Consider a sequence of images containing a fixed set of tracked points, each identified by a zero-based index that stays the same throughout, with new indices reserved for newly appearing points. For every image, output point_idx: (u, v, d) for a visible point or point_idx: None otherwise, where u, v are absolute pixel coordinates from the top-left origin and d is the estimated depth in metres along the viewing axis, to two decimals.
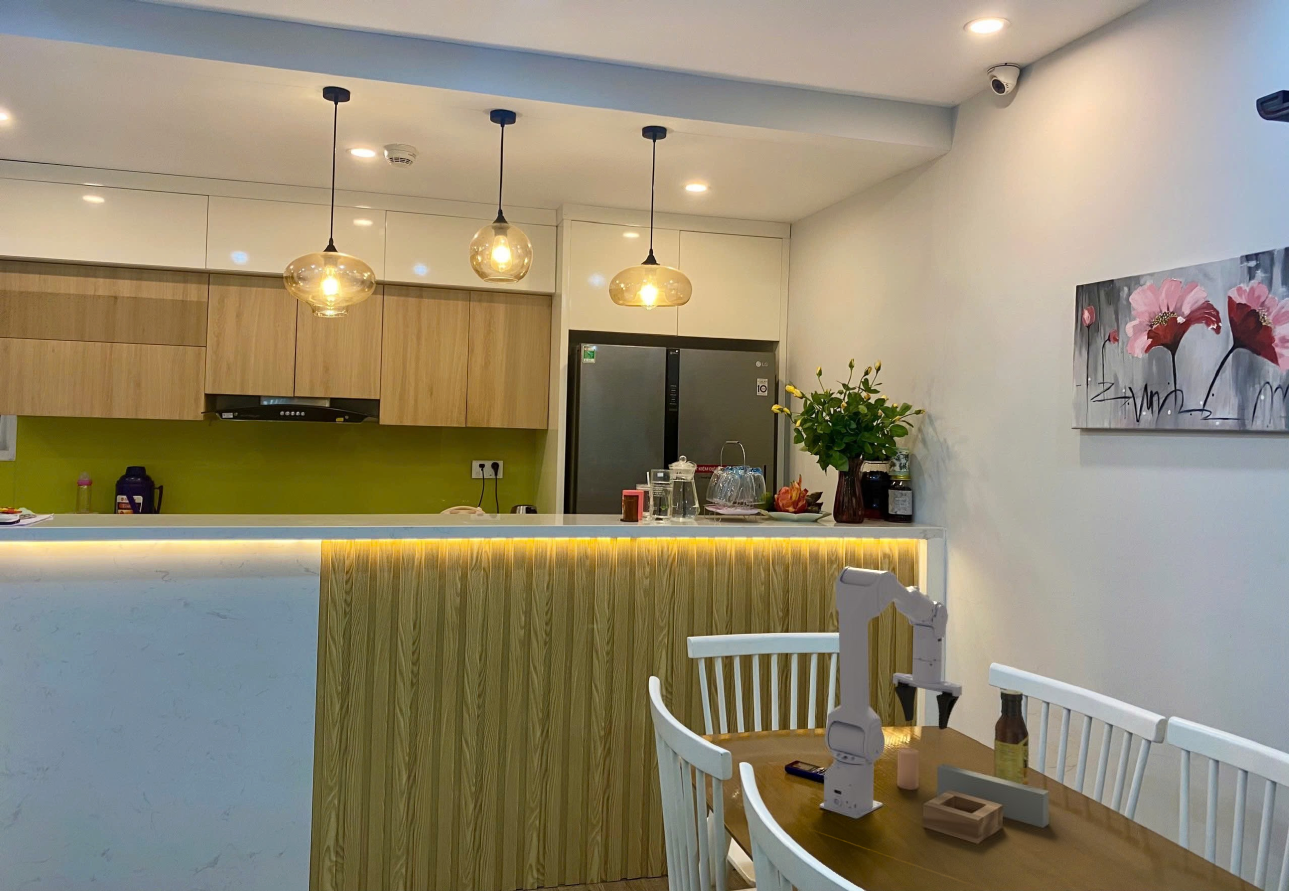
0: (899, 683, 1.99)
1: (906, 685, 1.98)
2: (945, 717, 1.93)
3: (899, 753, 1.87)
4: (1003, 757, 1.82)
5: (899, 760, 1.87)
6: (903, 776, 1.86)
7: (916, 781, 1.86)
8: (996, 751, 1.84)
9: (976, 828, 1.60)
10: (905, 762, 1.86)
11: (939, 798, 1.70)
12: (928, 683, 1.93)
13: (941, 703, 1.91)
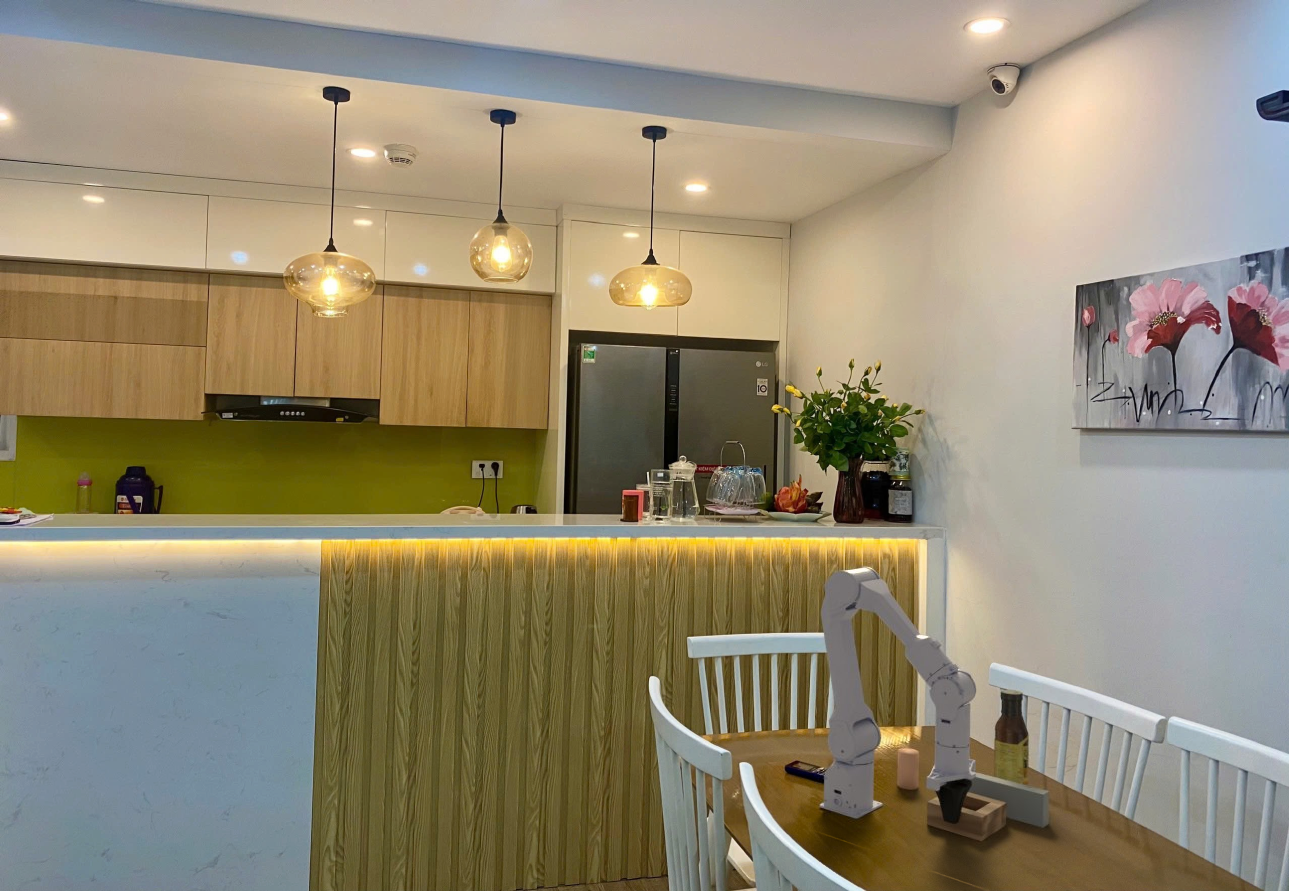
0: None
1: None
2: (948, 809, 1.63)
3: (899, 753, 1.87)
4: (1003, 757, 1.82)
5: (899, 760, 1.87)
6: (903, 776, 1.86)
7: (916, 781, 1.86)
8: (996, 751, 1.84)
9: (980, 825, 1.61)
10: (905, 762, 1.86)
11: None
12: (933, 767, 1.64)
13: None
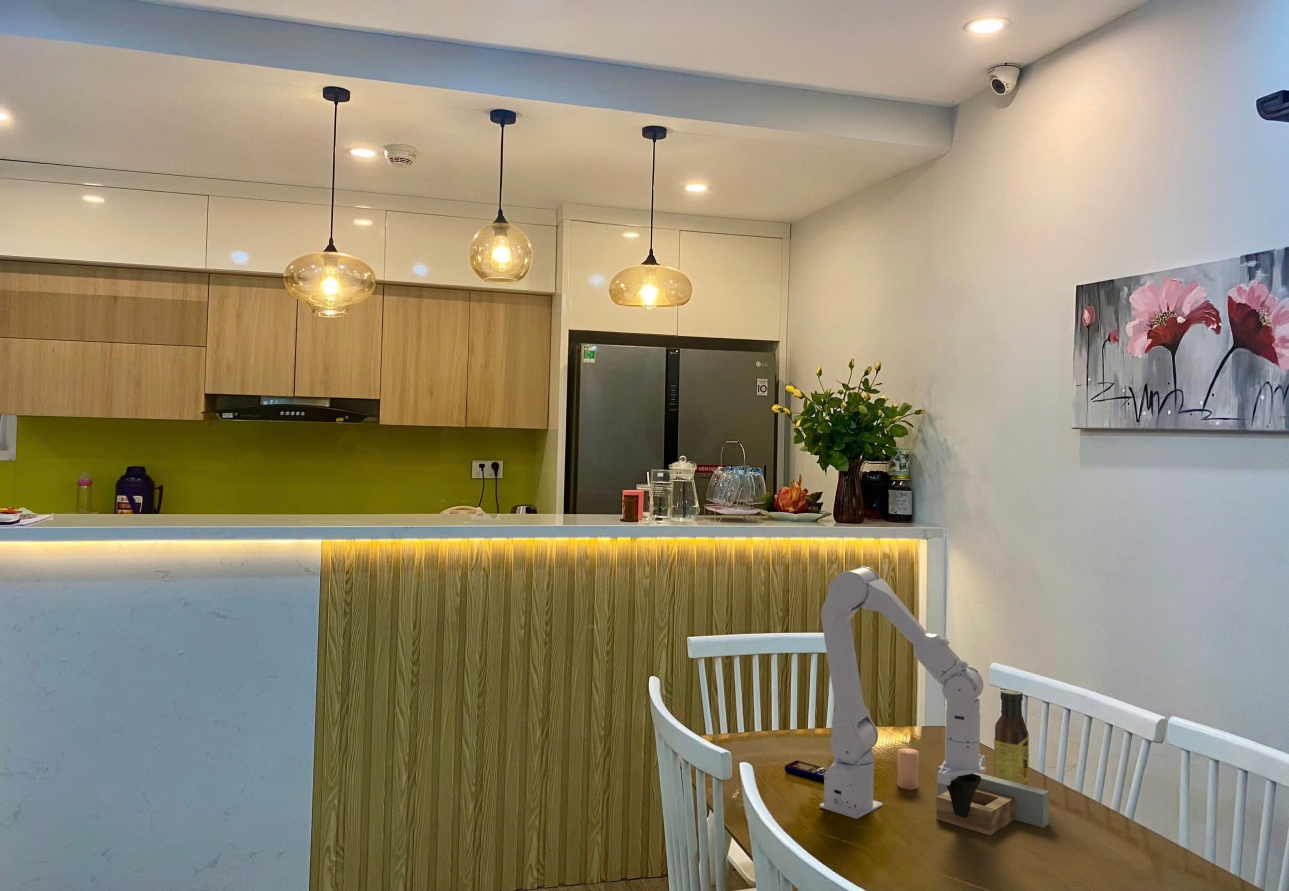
0: None
1: None
2: (959, 803, 1.66)
3: (899, 753, 1.87)
4: (1003, 757, 1.82)
5: (899, 760, 1.87)
6: (903, 776, 1.86)
7: (916, 781, 1.86)
8: (996, 751, 1.84)
9: (989, 820, 1.64)
10: (905, 762, 1.86)
11: None
12: (944, 762, 1.67)
13: None
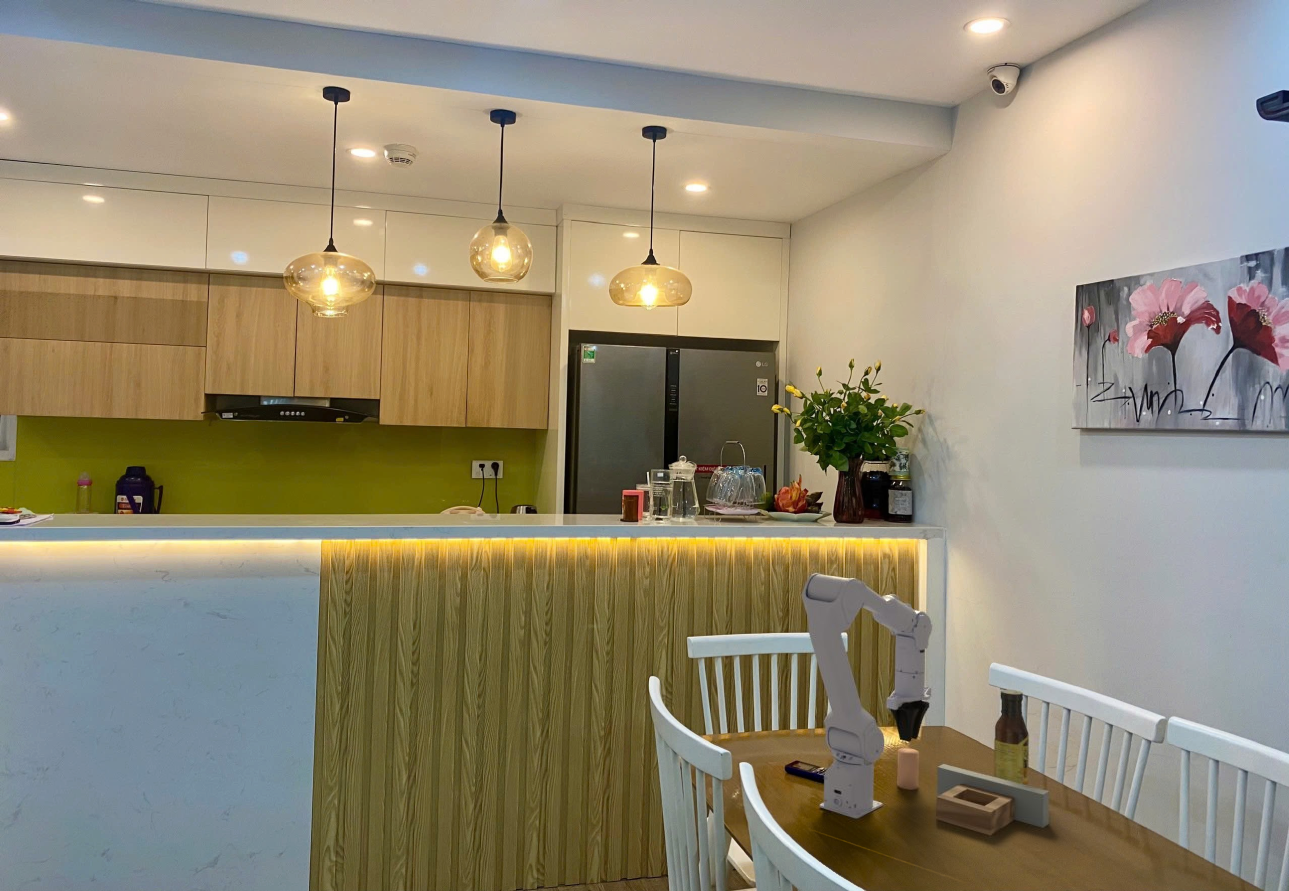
0: None
1: None
2: (904, 729, 1.86)
3: (899, 753, 1.87)
4: (1003, 757, 1.82)
5: (899, 760, 1.87)
6: (903, 776, 1.86)
7: (916, 781, 1.86)
8: (996, 751, 1.84)
9: (989, 820, 1.64)
10: (905, 762, 1.86)
11: (952, 791, 1.73)
12: (893, 692, 1.88)
13: None
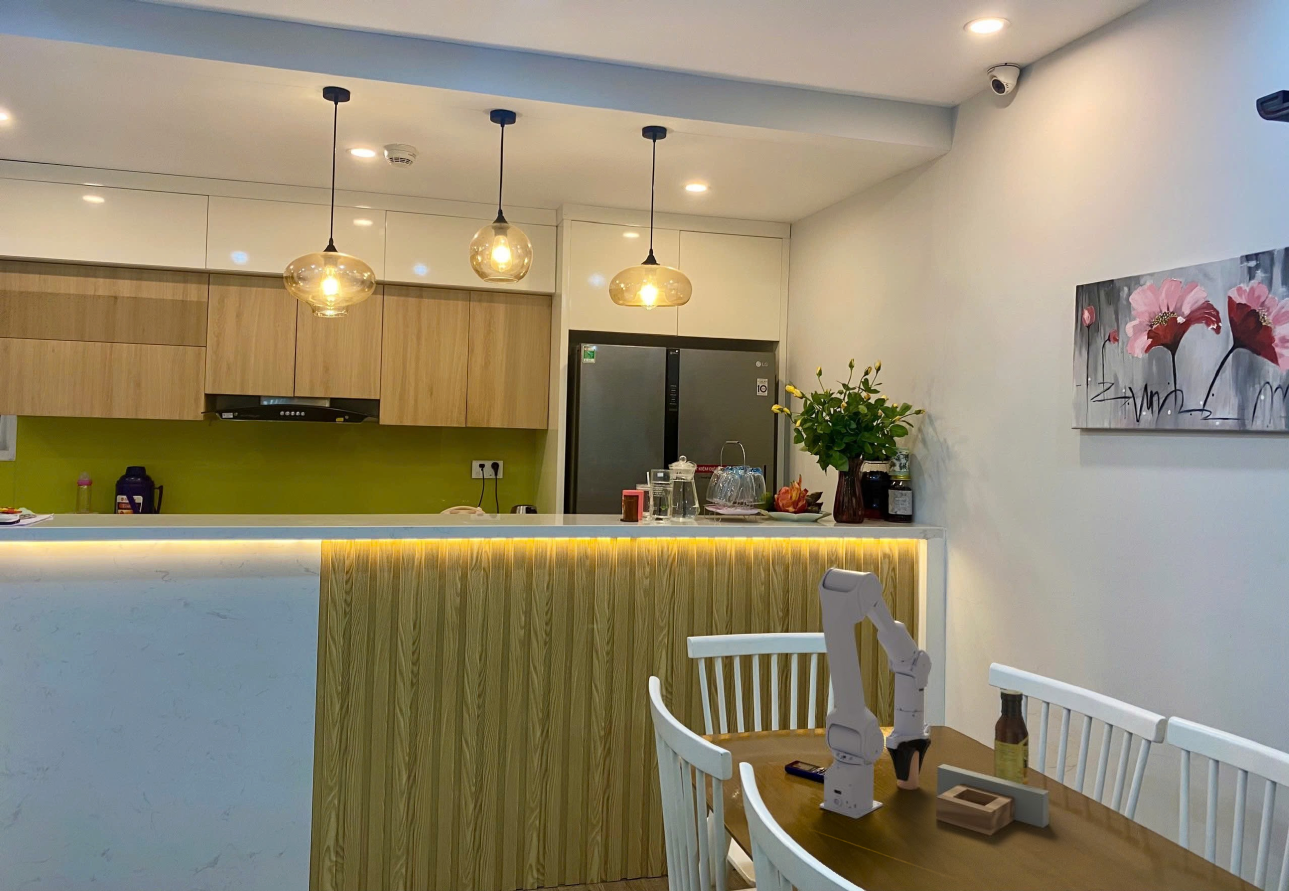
0: None
1: None
2: (901, 768, 1.85)
3: None
4: (1003, 757, 1.82)
5: None
6: None
7: (916, 781, 1.86)
8: (996, 751, 1.84)
9: (989, 820, 1.64)
10: None
11: (952, 791, 1.73)
12: None
13: None
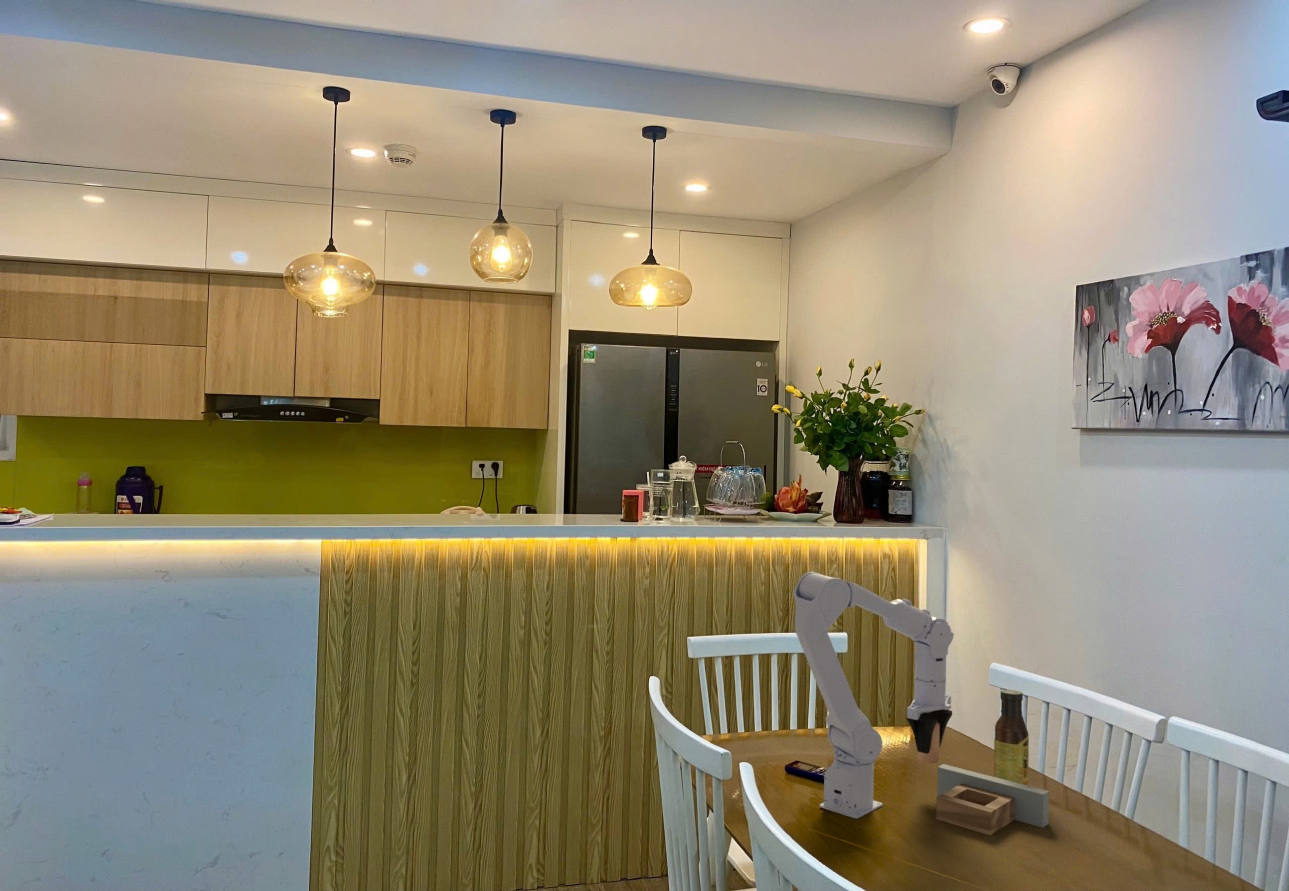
0: None
1: None
2: (922, 740, 1.80)
3: None
4: (1003, 757, 1.82)
5: None
6: None
7: (937, 754, 1.81)
8: (996, 751, 1.84)
9: (989, 820, 1.64)
10: None
11: (952, 791, 1.73)
12: (913, 701, 1.82)
13: None
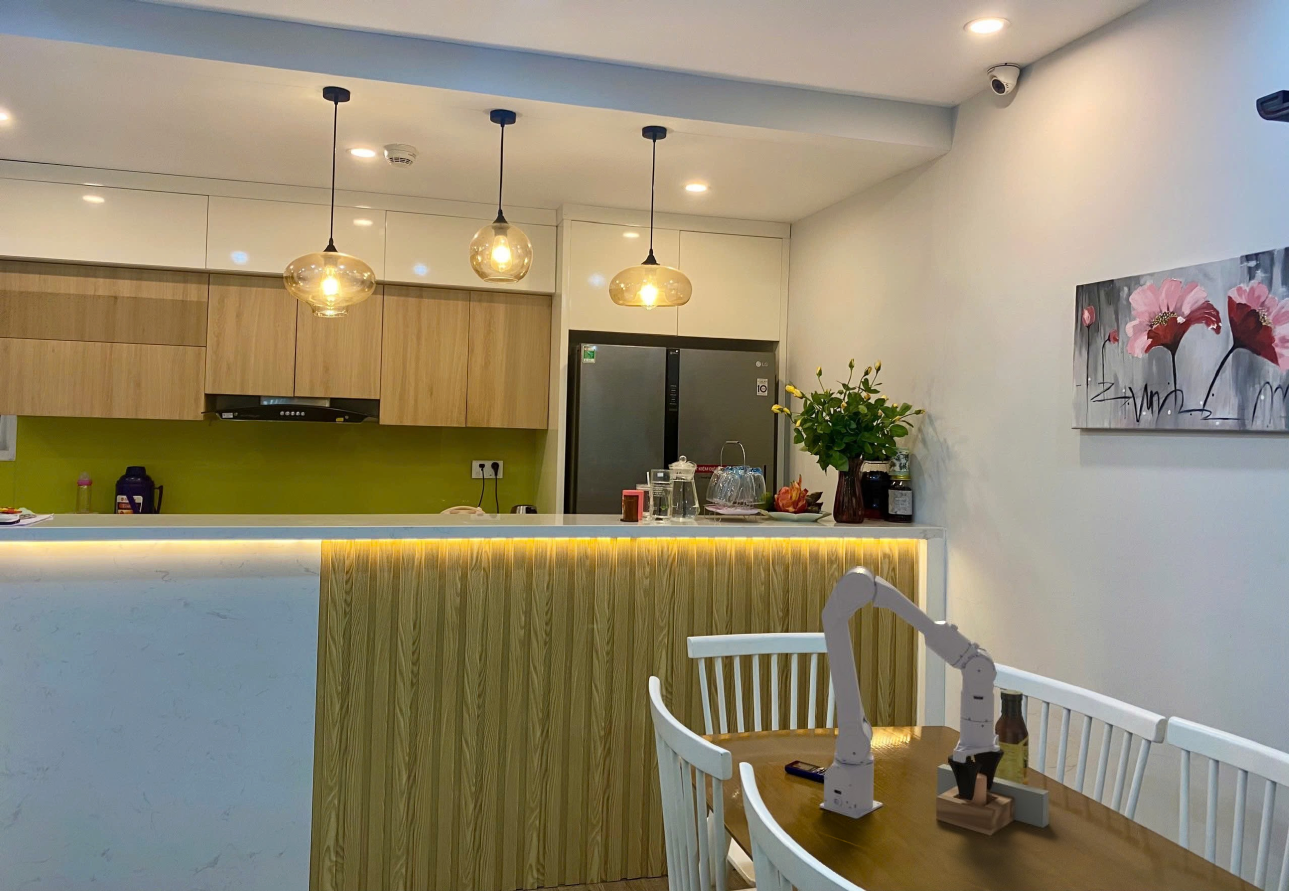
0: None
1: None
2: (965, 786, 1.67)
3: None
4: (1003, 757, 1.82)
5: None
6: None
7: None
8: None
9: (989, 820, 1.64)
10: None
11: (952, 791, 1.73)
12: (959, 741, 1.71)
13: None
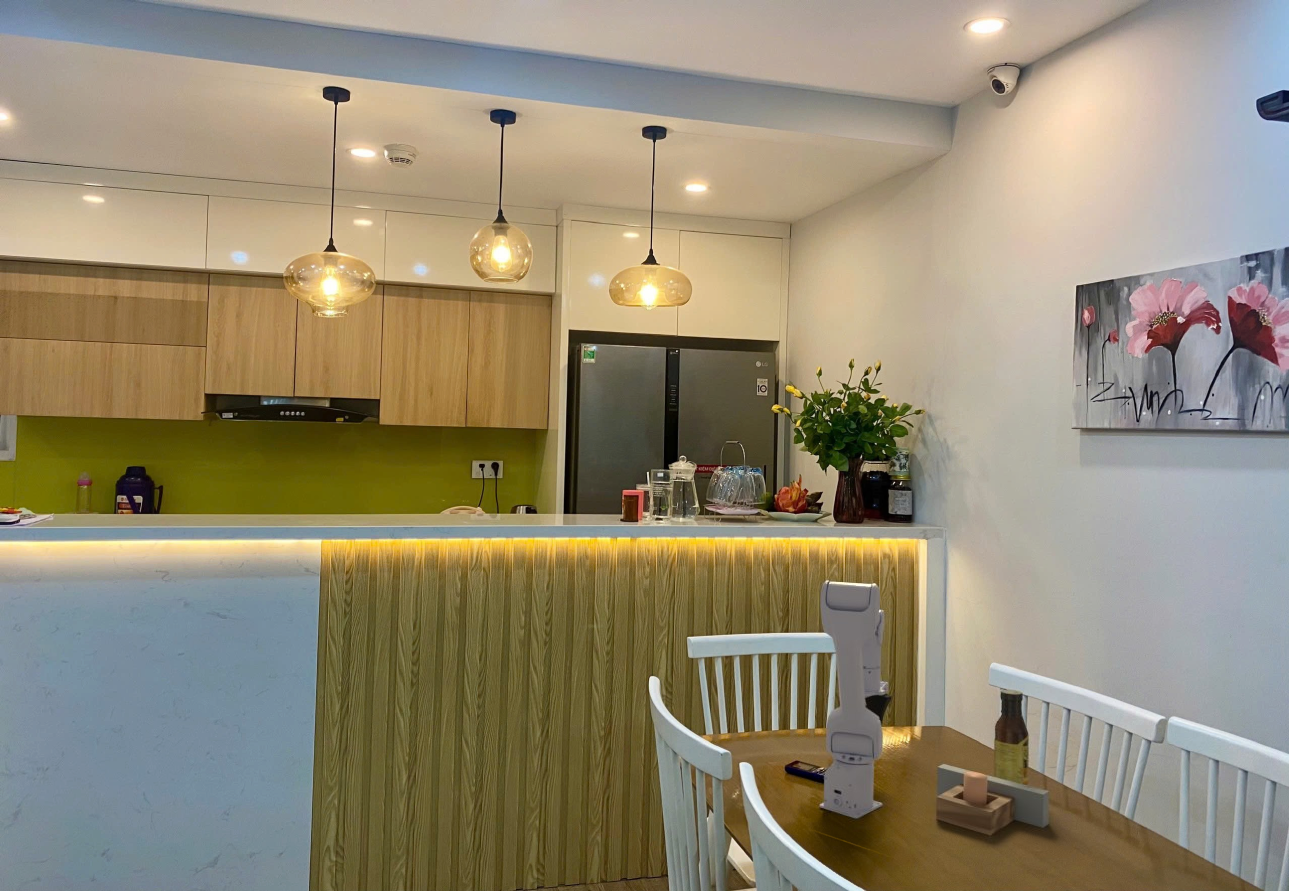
0: None
1: None
2: None
3: (965, 777, 1.70)
4: (1003, 757, 1.82)
5: (965, 784, 1.70)
6: None
7: None
8: (996, 751, 1.84)
9: (989, 820, 1.64)
10: (971, 786, 1.69)
11: (952, 791, 1.73)
12: None
13: None
